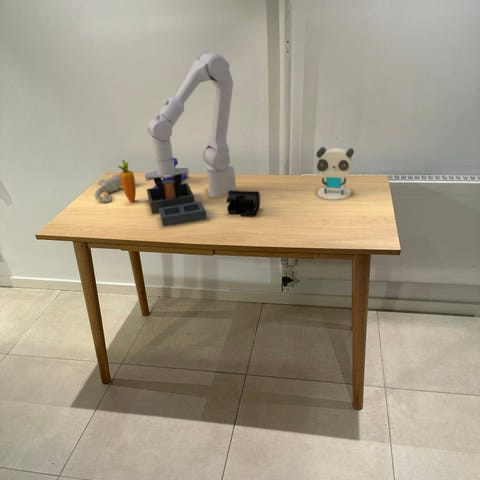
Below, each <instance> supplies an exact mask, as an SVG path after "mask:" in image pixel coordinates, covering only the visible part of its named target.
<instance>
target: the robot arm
mask: <svg viewBox="0 0 480 480" xmlns="http://www.w3.org/2000/svg"><path fill="white" fill-rule="evenodd" d="M208 81H210V82H211V83H212V84H213V85H214V87H215V90H214V91H215V92H214V101H213V109H212V119H211V128H210V137H209V139H208V140H207V141H206V146H205V148H204V150H203V151H202V158H203V160H204V162H205V163H206V173H207V174H206V175H207V182H208V183H207V184H208V188H206V191H207V193H208V195H209V196H210V198H214V197H221V196H229V195H228V191H229V190H236V191H237V183H236V173H235V169H234V166H233V165H230V164H231V158H230V154H229V153H230V147H229V145H228V141H227V137H228V127H229V121H230V112H231V105H232V96H233V88H234V81H233V78H232V74H231V71H230V63H229V62H228V61H227V59H226V58H225V57H224V56H223V55H221V54H219V53H217V54H216V53H213V52H209V51H203V52H200V54H199V55H198V57H197V59H195V61H194V62H193V63H192V66H191V68H190V70H189V72H188V74H187V75H186V77H185V79H184V80H183V82H182V83H181V86H180V87H179V89H178V90H177V92H176V94H175V95H174V96H171V97H168V99H165V100H163V104H164V105H163V106H162V108H161V109H160V110H159V112H158V113H156V114H155V118H153V119H151V120H150V122H149V124H148V128H147V131H148V133H149V135H150V136H151V139H152V145H153V146H152V148H153V152H154V157H155V164H156V169H157V170H155V171H151V172H146V173H144V175H143V176H144V180H145V182H149V181H152V180H153V182H154V184H155V185H156V186H157V187H158V189H159V190H160V192H161V194H162V197H163V200H165V195H164V191H163V184H162V179H163V178H168V177H173V179H174V184H175V191H176V198H178V197H179V188H180V184H182V177H181V175H187V176H189V175H190V171H189V168H188V167H176V166H175V167H174V160H173V158H174V154H173V148H172V141H171V137H172V136H173V135H172V134H173V128H174V126H175V125H176V123H177V122H178V120H179V119H180V117H182V114H183V113H184V112H185V103H186V102H187V101H188V99H189V98H190V96H191V95H192V94H193V92H195V90H196V89H197V87H198V86H199V85H200V84H201V83H203V82H208Z"/></svg>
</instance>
